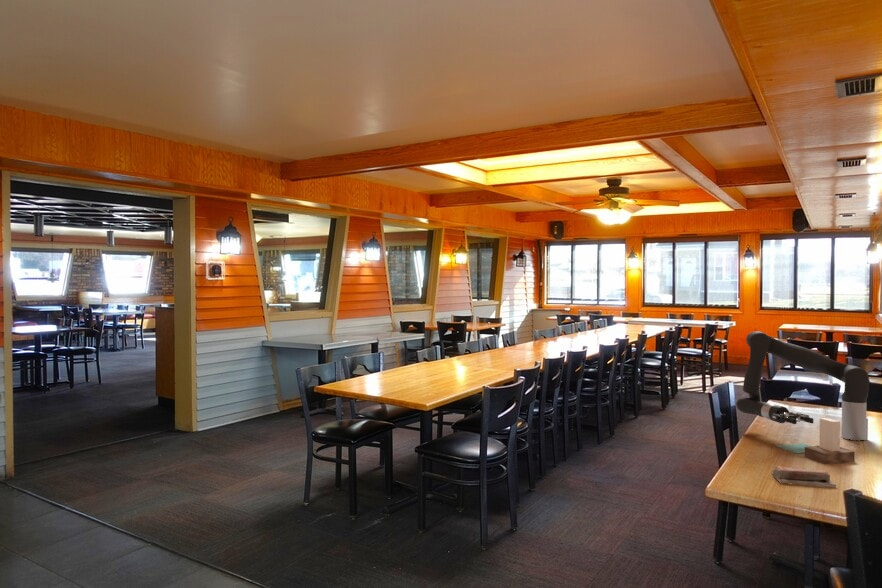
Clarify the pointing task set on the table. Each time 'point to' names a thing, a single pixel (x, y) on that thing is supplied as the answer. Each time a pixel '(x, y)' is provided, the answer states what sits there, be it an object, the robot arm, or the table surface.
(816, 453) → the block
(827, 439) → the beige rectangular block
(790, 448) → the mat
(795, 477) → the packaged product
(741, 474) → the table surface
